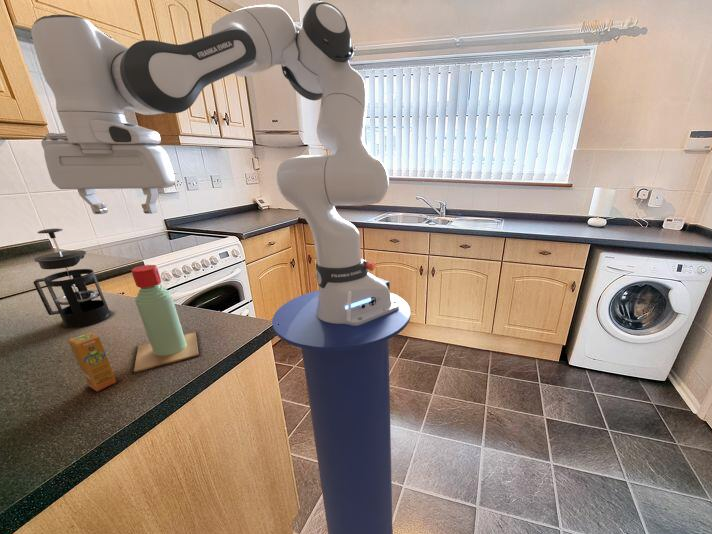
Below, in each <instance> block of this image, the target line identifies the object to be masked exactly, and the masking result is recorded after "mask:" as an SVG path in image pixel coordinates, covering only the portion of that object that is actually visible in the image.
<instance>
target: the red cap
mask: <svg viewBox="0 0 712 534" xmlns="http://www.w3.org/2000/svg"><path fill="white" fill-rule="evenodd" d="M131 274H132V277H133V281H134V283H135V286H136V287H137V288H140V289H141V288H144V287H151V286H155V285H158V284H159V285H160V284H161V283H162V279H161V276H160V272H159V269H158V267H157V265H156V264H145V265H140V266H139V265H138V266H136V267H133V268H132V269H131Z"/></svg>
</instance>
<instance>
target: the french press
mask: <svg viewBox="0 0 712 534" xmlns="http://www.w3.org/2000/svg"><path fill="white" fill-rule="evenodd" d="M63 230H64V229H63V228H58V227H57V228H46V229H42V230H39V231H37V234H48V236H49V238H50V239H52V241H53V243H54V245H55V247H56V250H57V251H56V252H51V253H47V254H42V255H39V256H37V257H34V259H33V260H34V262H35V263H38V264H39V266H40V269H41V270H59V269H60V270H61V269H65V271H60V272H56V273H53V274H49V275H47V276H46V277H43V278H42V277H41V278H36V279H35V280H34V281H33V282H32V283H33V285H34V287H35V289H36V291H37V293H38V295H39V298H40V299H41V302H42V304H43V306H44V308H45V310H46V312H47V314H48V315H49V316H54V315H59V316H60V318H61V320H62V325H63V326H64V327H65V328H71V329H72V328H74V329H75V328H82V327H88V326H91V325H95V324H98V323H100V322H102V321H105V320H107V319H108V318H110V317H111V316H112V311H111V310H110V309H109V307H108V304H107V301H106V299H105V297H104V293H103V291H102V289H101V287H100V284H99V281H98V279H97V276H96V274H95V272H94V269H92V268H90V269H89V268H79V269H78V268H77V269H70V270H69V268H71V267H74V266H77V265H78V264H79V263H80V261H81V260H83V259H84V257H85V255H86V254H87V252H86V250H75V249H74V250H63V251H61V249H60V247H59V245H58V243H57V240H56V238H57V237H56V233H59V232H62V231H63ZM66 277H69V279H64V280H59V279H62V278H66ZM90 280H93V282H94V284H95V287H96V289H88V286H87V285H86V283H85V282H88V281H90ZM41 282H44V284H45V286H46V287H47V290H48V292H49V294H50V296H51V298H52V300H53V303H54V305H55V307H56V309H57V310H53V309H52V307H51V305H50V303H49V301H48V299H47V297H46V295H45V293H44V290H43V288H42V286H41V284H40V283H41ZM53 287H55V288H57V287H60V288H61V290H62V292H63V295H61V296H58V297H57V295H56V293H55V290H54V288H53ZM98 297H100V299H97V298H98ZM62 306H65V307H63V308H62Z"/></svg>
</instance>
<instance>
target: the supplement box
mask: <svg viewBox="0 0 712 534" xmlns="http://www.w3.org/2000/svg"><path fill="white" fill-rule="evenodd" d="M67 341H68V344H69V346H70V348H71V350H72V352H73V354H74V356H75V359H76V361H77V363H78V365H79V368H80V370H81V372H82V374H83V376H84V379H85V382H86V384H87V386H88V387H89V388H91V389H92V390H94V391H96V392H99V391H101V390H103V389H106V388H107V387H110V386H112V385H114V384H116V383H117V380H116V376H115V374H114V372H113V369H112V366H111V364H110V361H109V359H108V356H107V353H106V351H105V348H104V346H103V344H102V340H101V338H100V336H98V335H97V334H95V333H93V332H91V331H89V332H86V333H84V334H81V335H78V336H75V337H72V338H69V339H68V340H67Z"/></svg>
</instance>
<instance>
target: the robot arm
mask: <svg viewBox="0 0 712 534" xmlns="http://www.w3.org/2000/svg"><path fill="white" fill-rule="evenodd" d="M30 31H31V39H32V44H33V48H34V51H35V55H36V58H37V61H38V63H39V67H40V70H41V72H42V75H43V77H44V80H45V82H46V84H47V85H48V87H49V88H50V90H51V91H52V93H53V97H54V99H55V108H56V109H55V110H56V112H57V115H58V118H59V120H60V123H61V126H62V128H63V131H64V132H60V133H55V132H49V133H46V134H45V136H44V137H43V138H42V140H41V147H42V149H43V155H44V160H45V164H46V168H47V171H48V174H49V179H50V180H51V183H52V184H53V185H54V186H55V187H56V188H57V189H59V190H77V193H78V195H79V197H81V198H82V200H83V201H85V202H86V203H87V204H88V205H89V207H90V208H91V211H92V214H94V215H105V214H108V208H107V205H106V203H102V202H100V200H99V199H98V198H97V197H96V194H97V192H96V190H120V189H121V190H122V189H123V190H125V189H126V190H127V189H128V190H129V189H131V190H132V189H133V190H134V189H135V190H136V189H137V190H138V189H139V190H142V193H143V195H144V196H146V199H145V203H142V204H141V208H142V209H143V210H142V211H143V213H144V214H147V215H148V214H151V215H153V214H157V213H158V207H157V204H156V202H157V200H158V196H159V190H158V189H168V188H172V187H173V186H174V185H175V182H176V177H175V173H174V169H173V166H172V164H171V161H170V158H169V155H168V153H167V152H166V150H165V149H164V148H163V147H162V146H161V145H159V144H161V143H162V140H161V135H160V133H159V132H158V131H156V130H154V129H151V128H148V127H144V126H141V125H138V124H135V123H131V122H128V120H127V118H126V115H125V111H129V112H134V113H137V114H139V115H140V114H141V115H144V116H152V115H153V116H154V115H161V114H179V113H183V112H185V111H187V110H188V109H190V108H191V107H192V106H193V105H194V103H195V102H196V101H197V99H198V97H199V95H200V94H201V93H202V91H203V90H204V89H205V88H206V87H207V86H209V85H211V84H213V83H215V82H217V81H219V80H222V79H224V78H226V77H228V76H230V75H232V74H233V75H234V76H236V77H239V78H244V77H250V76H254V75H257V74H261V73H263V72H266V71H268V70H270V69H271V68H274V67H277V66H279V65H280V66H281V71H282V75H283V76H284V78H285V79H286V80H288V82H289V84H290V86H292V88H293V89H294V90H295V92H297V93H298V94H299V95H300V96H301V97H303V98H305V99H306V100H309V101H319V100H321V101H320V107H319V113H318V119H317V124H316V135H317V139H318V141H319V143H320V144H321V145H322V146H323V148H325V149H326V150H327V151H328V152H329V153H331V154H325V155H324V154H302V155H298V156H293V157H290V158H286V159H285V158H284V159H283V160H281V163H280V164H279V165H278V168H277V171H276V185H277V188H278V191H279V192H280V194H281V195H282V197H283V198H284V199H285V200H286V201H287V202H288V203H290V204H292V206H294V207H295V208H296V209H297V210H298V211H299V212H300V214H301V215H302V216H303V218H304V219H305V221H306V222H307V225H308V226H309V228H310V231H311V234H312V239H313V244H314V249H315V250H314V251H315V256H316V262H315V278H316V284H317V285H318V290H319V298H318V307H317V312H316V315H317V317H318V318H319V319H320V320H322V321H325V322H328V323H335V324H348V325H353V326H358V325H361V324H363V323H366V322H368V321H371V320H373V319H376V318H378V317H381V316H383V315H386V314H388V313H391V312H393V311H395V310H398V309H399V303H398V301H397V300H396V299H395V298H394V297H392V296H391V295H390V291H391V290H390V289H391V288H390V287H391V286H390V285H391V284H390V281H389V280H386V279H383V278H381V277H377V276H375V275H374V274H372V273H370V272H373V271H375V269H376V264H375V263H373V262H372V261H367V260H365V259H363V258H362V253H361V252H362V251H361V234H360V231H359V230H358V228H357V227H356V226H355V225H354V223H352V222H350V221H349V220H346V219H344V218H343V217H342V216H341V215H340V214H339V213H338V212H337V209H336V207H337V206H338V207H363V206H369V205H373V204H379V203H381V201H382V200H383V199H384V198H385V196H386V194H387V192H388V190H389V186H390V185H389V184H390V183H389V182H390V179H389V173H388V170H387V168H386V166H385V165H384V162H382V161H381V160H380V158H378V157H376V156H374V155H373V154H372V153H371V152H370V150H369V149H368V147H367V145H366V143H365V127H366V119H367V118H366V117H367V109H368V107H367V106H368V99H367V98H368V97H367V86H366V83H365V80H364V78H363V76H362V75H361V73H360V72H358V71H357V70H355V69H354V68H353V67H352V66H351V65H350V60H352V58H353V57H354V53H355V52H354V48H353V46H352V39H351V35H352V34H351V30H350V26H349V23H348V20H347V19H346V17H345V15H344V13H342V11H341V10H340V9H339V8H337V7H336V6H335V5H333V4H331V3H329V2H326V1H320V0H319V1H318V0H317V1H315V2H313V3H312V4H310V5H309V7H307V10H306V11H305V13H304V15H303V17H302V24H301V26H300V27H297V26H296V25H295V23H294V21H293V19H292V17H291V16H290V14H289V13H288V12H287V11H286V10H285V9H284V8H282V7H281V6H278V5H275V4H257V5H251V6H246V7H242V8H239V9H236V10H234V11H231V12H229V13H227V14H225V15H223V16H221V17H220V18H219V19H217V20H216V21H214V22H213V23H212V25H211V29H210V34H209V35H206V36H203V37H200V38H198V39H194V40H191V41H189V42H185V43H181V44H176V43H169V42H164V41H160V40H153V39H145V40H144V39H143V40H140V41H137V42H135V43H133V44H132V45H130V47H127V46H125V45H124V44H121V43H120V42H119V41H116V39H113V38H112V37H110V36H108V35H107V34H105V33H104V32H103V31H101V30H100V29H98V28H97V27H96V26H95V25H93V23H92V22H90V20H89V19H87V18H84V17H80V16H77V15H72V14H50V15H43V16H41V17H39V18H38V19H36V20H35V21H34V22H33V24H32V25H31V29H30ZM124 110H125V111H124ZM368 270H369V271H370V272H369V271H368Z"/></svg>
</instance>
